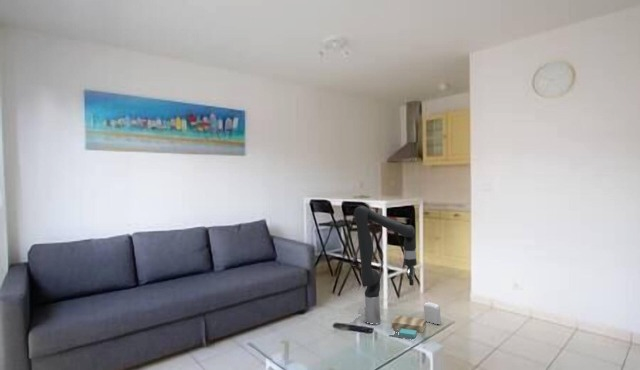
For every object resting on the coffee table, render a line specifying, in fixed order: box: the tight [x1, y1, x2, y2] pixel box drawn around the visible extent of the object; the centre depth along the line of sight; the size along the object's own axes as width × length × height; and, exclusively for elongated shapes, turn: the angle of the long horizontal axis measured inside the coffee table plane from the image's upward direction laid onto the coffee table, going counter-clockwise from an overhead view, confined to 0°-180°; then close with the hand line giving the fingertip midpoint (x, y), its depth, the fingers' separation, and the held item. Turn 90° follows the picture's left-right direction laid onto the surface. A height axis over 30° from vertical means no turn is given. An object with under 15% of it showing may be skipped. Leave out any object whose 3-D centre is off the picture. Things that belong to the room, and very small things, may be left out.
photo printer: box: [423, 301, 442, 325], centre depth 222 cm, size 10×4×12 cm, turn 39°
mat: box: [388, 329, 413, 341], centre depth 207 cm, size 13×10×1 cm
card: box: [399, 329, 418, 339], centre depth 205 cm, size 9×6×2 cm, turn 62°
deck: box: [391, 314, 427, 334], centre depth 217 cm, size 18×12×4 cm, turn 62°
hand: (411, 285), depth 220 cm, fingers closed
